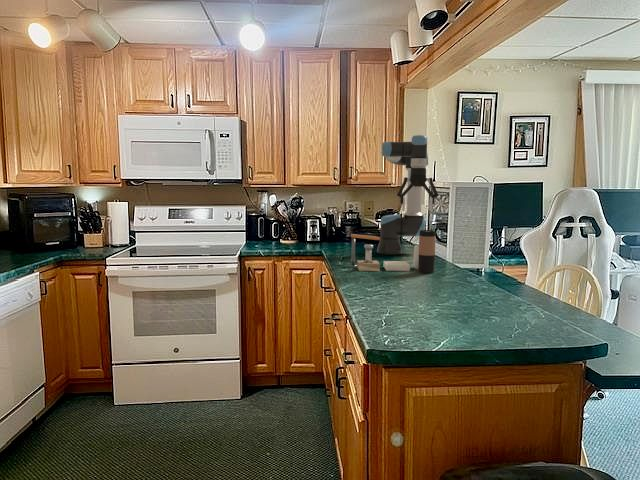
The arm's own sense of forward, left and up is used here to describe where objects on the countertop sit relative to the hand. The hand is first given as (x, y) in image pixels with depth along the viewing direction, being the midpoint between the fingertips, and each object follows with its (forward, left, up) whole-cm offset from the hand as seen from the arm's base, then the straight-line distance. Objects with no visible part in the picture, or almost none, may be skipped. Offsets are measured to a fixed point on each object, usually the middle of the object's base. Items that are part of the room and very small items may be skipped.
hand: (416, 211), depth 235 cm
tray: (+3, -10, -29) cm, 31 cm away
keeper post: (-3, -31, -29) cm, 42 cm away
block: (+4, -24, -29) cm, 38 cm away
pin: (+4, -24, -29) cm, 38 cm away
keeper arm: (+2, -26, -14) cm, 29 cm away
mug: (-1, +5, -29) cm, 29 cm away
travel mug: (+11, +3, -29) cm, 31 cm away
